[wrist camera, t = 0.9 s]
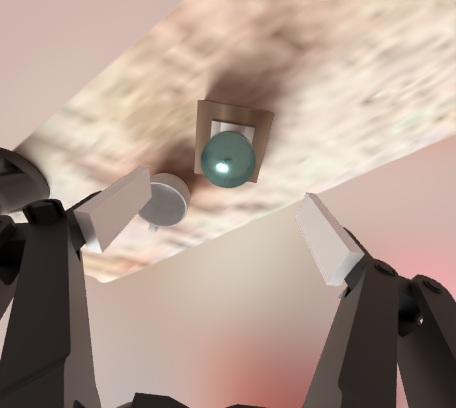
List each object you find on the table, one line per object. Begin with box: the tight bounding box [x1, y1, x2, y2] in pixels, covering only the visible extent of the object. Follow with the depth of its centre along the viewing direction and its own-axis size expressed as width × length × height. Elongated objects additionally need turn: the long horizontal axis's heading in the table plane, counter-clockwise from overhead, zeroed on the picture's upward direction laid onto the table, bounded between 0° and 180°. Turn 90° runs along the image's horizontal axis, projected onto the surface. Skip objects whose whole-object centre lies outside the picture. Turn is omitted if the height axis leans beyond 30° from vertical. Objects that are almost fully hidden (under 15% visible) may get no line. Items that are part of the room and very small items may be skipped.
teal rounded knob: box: [201, 130, 256, 188], centre depth 29 cm, size 7×7×15 cm
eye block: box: [194, 100, 274, 183], centre depth 32 cm, size 12×12×6 cm
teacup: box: [137, 173, 190, 232], centre depth 39 cm, size 14×11×8 cm
